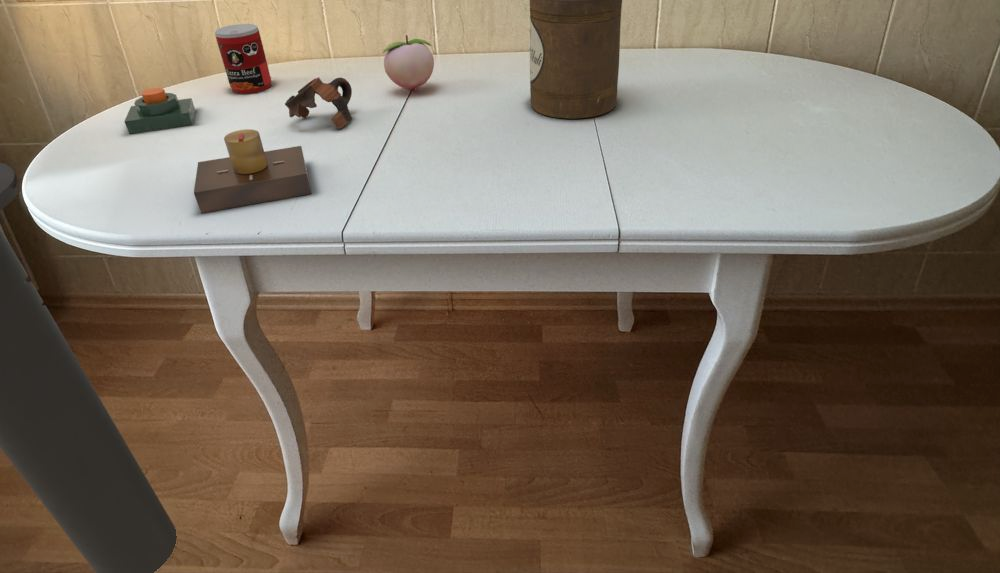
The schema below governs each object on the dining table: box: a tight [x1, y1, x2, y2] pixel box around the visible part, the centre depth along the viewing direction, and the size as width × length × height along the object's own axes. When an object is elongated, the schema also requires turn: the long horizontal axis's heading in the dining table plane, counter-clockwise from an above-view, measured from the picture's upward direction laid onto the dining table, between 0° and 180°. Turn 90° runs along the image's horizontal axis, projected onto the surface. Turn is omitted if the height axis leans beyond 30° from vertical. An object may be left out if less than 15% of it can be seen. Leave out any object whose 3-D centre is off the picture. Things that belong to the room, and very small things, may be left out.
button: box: [140, 87, 167, 103], centre depth 106 cm, size 4×4×2 cm
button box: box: [124, 92, 196, 135], centre depth 107 cm, size 10×8×4 cm
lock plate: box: [193, 145, 312, 214], centre depth 85 cm, size 14×10×3 cm
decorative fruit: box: [382, 34, 435, 92], centre depth 114 cm, size 9×8×10 cm
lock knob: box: [223, 128, 268, 174], centre depth 82 cm, size 4×4×5 cm
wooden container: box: [529, 0, 623, 120], centre depth 101 cm, size 15×15×22 cm
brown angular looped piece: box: [284, 77, 353, 130], centre depth 104 cm, size 12×10×8 cm
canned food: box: [214, 23, 272, 95], centre depth 119 cm, size 8×8×11 cm
